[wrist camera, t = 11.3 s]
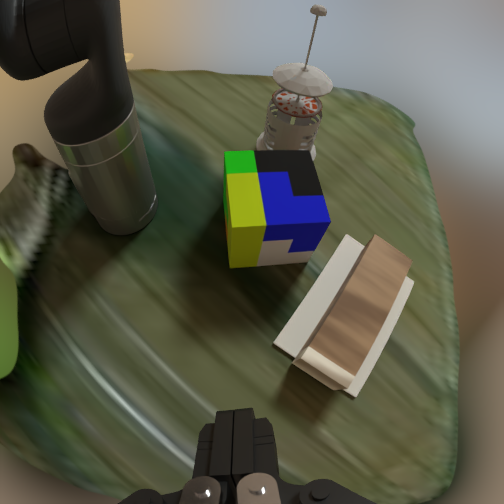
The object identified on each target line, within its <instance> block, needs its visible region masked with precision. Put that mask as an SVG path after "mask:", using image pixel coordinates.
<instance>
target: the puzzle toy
mask: <svg viewBox="0 0 504 504" xmlns="http://www.w3.org/2000/svg"><path fill="white" fill-rule="evenodd" d="M223 203H224V214H225V225H226V235H227V245H228V256H229V266H230V268H241V267H253V266H266V265H278V264H290V263H302V262H308V261H309V259H310V258H311V256H312V254H313V252H314V251H315V249H316V247H317V245H318V244H319V242H320V240H321V238H322V237H323V235H324V233H325V231H326V230H327V228H328V226H329V224H330V222H331V221H330V217H329V214H328V210H327V206H326V203H325V199H324V196H323V193H322V189H321V186H320V182H319V179H318V176H317V172H316V169H315V166H314V163H313V160H312V156H311V153H310V150H256V151H228V152H224V192H223Z"/></svg>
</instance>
